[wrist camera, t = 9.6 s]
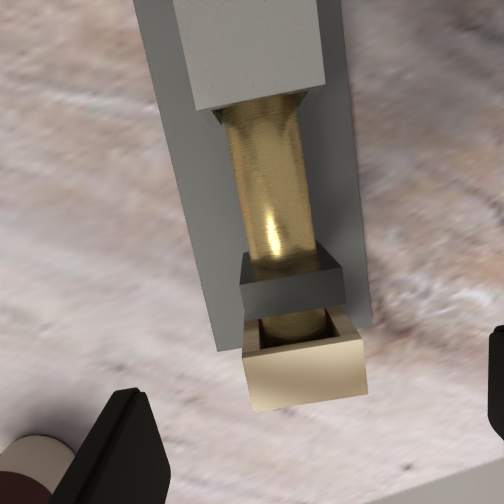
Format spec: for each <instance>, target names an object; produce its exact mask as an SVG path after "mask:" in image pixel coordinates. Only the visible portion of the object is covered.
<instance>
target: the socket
mask: <svg viewBox="0 0 504 504" xmlns="http://www.w3.org/2000/svg"><path fill="white" fill-rule="evenodd" d="M325 316H326V323H327V330H328V337H329V338H328V339H321V340H315V341H309V342H303V343H297V344H291V345H285V346H279V347H273V348H268V347H267V342H266V337H265V332H264V327H263V321H262V318H261V319H255V320H250V321H247V320H246V316H245V312H244V330H243V348H242V361H243V366H244V371H245V375H246V380H247V384H248V389H249V393H250V398H251V402H252V407H253V411H254V412H257V411H264V410H270V409H276V408H283V407H289V406H296V405H302V404H309V403H315V402H322V401H328V400H335V399H341V398H347V397H354V396H360V395H367V394H368V386H367V377H366V368H365V359H364V349H363V340H362V338H361V336H360V335H359V333H358V332H357V330H356V328H355V327H354V325H353V324H352V322H351V321H350V319H349V318H348V316H347V315H346V313H345V312H344V310H343V309H342V307H341V306H340V305H338V306H332V307H326V308H325Z"/></svg>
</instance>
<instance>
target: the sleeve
mask: <svg viewBox="0 0 504 504" xmlns="http://www.w3.org/2000/svg"><path fill="white" fill-rule="evenodd" d="M173 4H174V8H175V13H176V18H177V23H178V27H179V32H180V37H181V41H182V46H183V51H184V55H185V60H186V65H187V69H188V74H189V79H190V83H191V88H192V93H193V98H194V102H195V107H196V111H197V112H198V113H199V114H200V115H201V116H202V117H203V118H204V119H205V120H206V122H207V123H208V124H209V125H210V126H211V127H212V128H219V127H225V126H224V121H223V116H222V111H221V108H224V107H229V106H234V105H239V104H244V103H249V102H254V101H259V100H264V99H269V98H274V97H279V96H284V95H288V94H293V93H295V99H296V106H297V112H299V111H300V110H304V109H305V108H306V107H307V106H308V105H309V103H310V102H311V101H312V100H313V99H314V97H315V96H316V95H317V94H318V93H319V91H320V90H321V89H322V88H323V87H324V85H325V84H326V83H325V74H324V65H323V57H322V48H321V39H320V30H319V22H318V13H317V4H316V0H173Z"/></svg>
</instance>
